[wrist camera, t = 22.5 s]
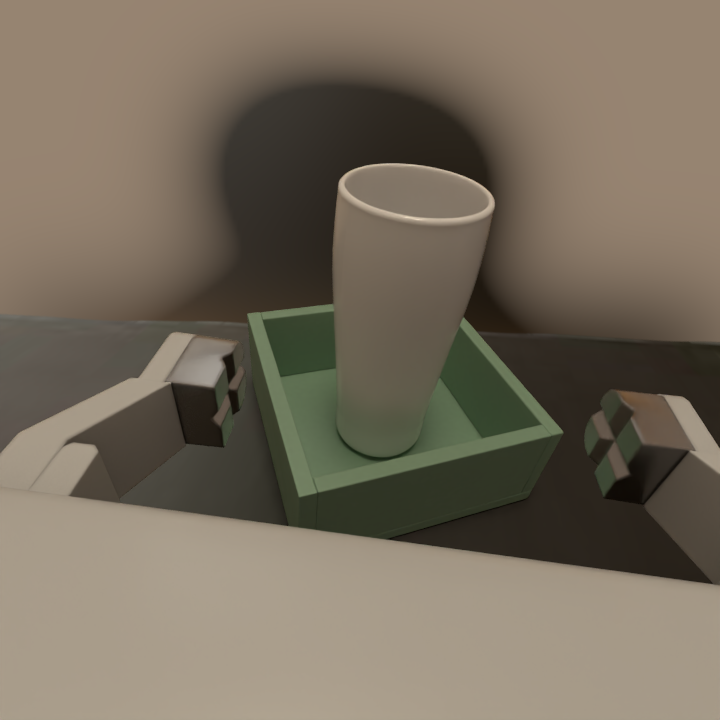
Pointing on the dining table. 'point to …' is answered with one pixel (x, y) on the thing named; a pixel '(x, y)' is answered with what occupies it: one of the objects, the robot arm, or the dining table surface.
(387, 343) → the white cup
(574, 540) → the dining table surface
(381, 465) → the tote
